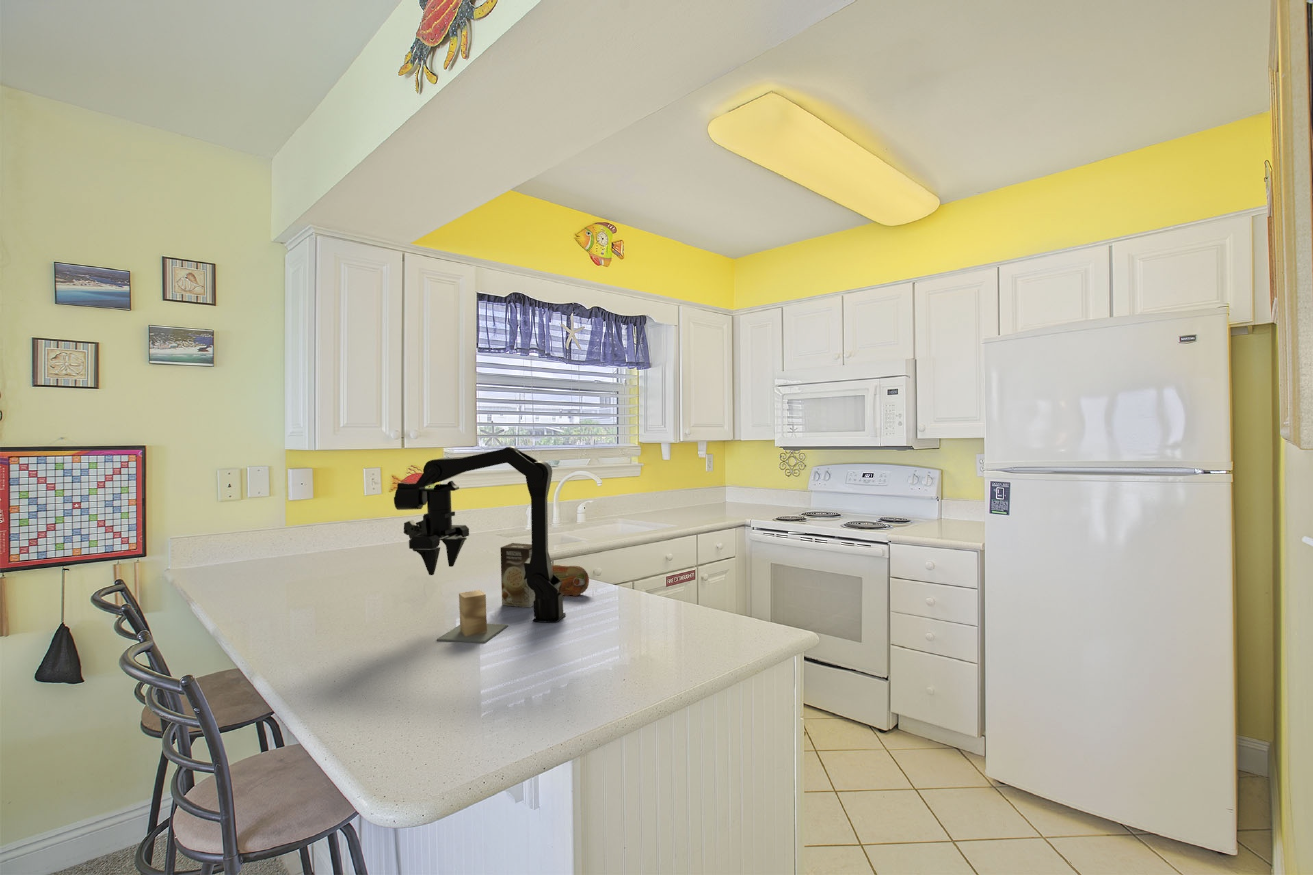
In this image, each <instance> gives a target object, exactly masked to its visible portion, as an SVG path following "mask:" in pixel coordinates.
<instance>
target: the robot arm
mask: <svg viewBox="0 0 1313 875" xmlns="http://www.w3.org/2000/svg"><path fill="white" fill-rule="evenodd" d="M503 464H509V465H510V466H511V467H512V468H513V469H515V470H516V471H518V473H520V474H522V475H523V476H525V481H526V485H527V490H528V493H529V496H530V508H531V510H530V511H531V512H530V515H531V516H530V521H531V523H530V524H531V528H530V529H531V544H532V555H531V558H528V559H527V561H526V562H525V563H524V568H525V577H524V580H525V579H527V585H528V587H530V588H531V589H532V590H534V593H535V600H534V601H533V606H532V607H533V617H534V618H533V619H532V621H533V622H537V621H546V622H545V623H558V622H559V621H560V620H562V619H563V618H564V617H565V616H566V615H567V614H566V612H564V600H563V599H564V598H563V596H564V595H563V593H560V592H559V590H560V588H561V585H562V581H561V580H560V579H559V578H557V577H556V576H555V575H554V574H553V568H552V565H553V564H552V563H553V562H552V559H551V556H550V553H549V533H548V532H549V526H548V525H549V523H548V522H549V521H548V520H549V519H548V518H549V517H548V515H549V512H548V511H549V510H548V508H549V507H548V496H549V492H550V487H551V483H552V477H553V468H552V465H550V464H549V463H548V462H547V461H544V460H537V459H536V458H534V457H532V456H530V455H528V454H527V453H525V452H524V451H521V450H519V449H518V448H517V447H516V446H512V445H511V446H506V447H504V448H501V449H497V450H492V451H487V452H483V453H479V454H478V453H477V454H475V455H469V456H464V457H446V458H445V457H443V458H435V459H431V460H428V461H427V462H426V463H425V465H424V466H423V468H422V469H423V471H422V474H421V476H420V477H419V478H418V479H417V481H416V482H398V483H397V488H396V490H395V492H394V496H393V503H394V507H395V509H396V510H397V511H403V510H405V511H409V510H412V511H413V510H422V508H424V506H427V508H426V509H427V513H424V514H423V516H422V520H421V521H414V520H413V519H412V520H408V521H405V522H404V523H403V534H405V535H406V536H408V537H409V540H408V548H409V549H411V550H412V551H413V552H416V553H417V554H419V555H420V556H421V559H422V560H423V563H424V566H425V568H426V570H427V573H428V576H433V575H435V572H436V569H437V565H438V564H437V563H438V560H439V555H440V550H441V547H439V546H440V543H441V542H442V543H443V544H444V545H445V550H446V555H447V556H446V557H447V562H448V563H447V565H448V567H454V566H455V564H456V561H457V559H458V556H459V553H460V552H461V550H462V547H463V545H464V544H465V542H466V540H467V537H469V536H470V529H469V527H468V525H466V524H453V521H452V520H453V519H452V518H453V517H455V516H456V511H452V494H451V493H452V491H453V492H454V491H455V492H456V491H457V490H459V489H460V486H459V485H457V484H456V483H455V482H454V480H450V479H452V478H454V477H456V476H458V475H461V474H464V473H466V472H469V471H470V472H471V471H475V470H479V469H483V468H488V467H492V466H498V465H503ZM447 480H449V481H448V482H447V483H440V482H444V481H447ZM432 485H434V487H431V488H430V487H428V486H432ZM426 487H428V488H426ZM562 617H563V618H562Z"/></svg>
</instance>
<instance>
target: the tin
mask: <svg viewBox="0 0 1313 875" xmlns="http://www.w3.org/2000/svg"><path fill="white" fill-rule="evenodd" d="M552 568H553V574H554V575H555V576H556V577H557V578H559V579H560V580H561V581H562V585H561V588H560V590H559V592H560V593H563V596H566V595H573V596H572V597H576V596H580V595H581V594H583V593H584V592H586V590H587V589H588V588H589V583H590V578H589V573H588V572H587V570H586V569H584V568H583V567H582V566H579V565H568V564H567V565H565V564H564V565H563V564H552Z"/></svg>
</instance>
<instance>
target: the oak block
mask: <svg viewBox="0 0 1313 875" xmlns="http://www.w3.org/2000/svg"><path fill="white" fill-rule="evenodd" d="M486 597H487V596H486V593H485V592H483V591H482V590H481V589H476V590H472V591H464V592H459V593H458V602H459V603H458V604H459V606H458V608H459V625H460V631H461V632H462V633H463V634H464V635H465V636H471V635H476V634H481V633H486V632H487V624H488V620H487V618H488V616H487V598H486Z"/></svg>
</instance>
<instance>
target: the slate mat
mask: <svg viewBox="0 0 1313 875" xmlns="http://www.w3.org/2000/svg"><path fill="white" fill-rule="evenodd" d="M507 626H508V627H509V624H503V623H501V624H500V623H487V632H486V633H481V634H476V635H471V636H465V635H464V634H463V633H462V632H461V631H460V624H459V625H457V626H455V627H454V628H452V629H450V630H449V631H447V632H446V633H444V634H443V635H441V636H439V637H438V638H436V641H437V642H454V643H455V642H456V643H457V642H458V643H475V644H476V643H477V644H478V643H479V644H486V643H487V642H488V641H489V640H492V637H493V636H494V637H495V636H496V634H497V635H498V634H500V633H501V632H502V631H503V629H504V628H505V629H507ZM505 629H504V630H505ZM500 631H501V632H500ZM494 637H493V638H494Z"/></svg>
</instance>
